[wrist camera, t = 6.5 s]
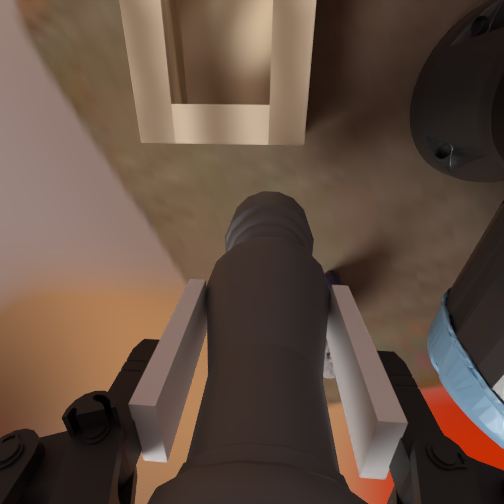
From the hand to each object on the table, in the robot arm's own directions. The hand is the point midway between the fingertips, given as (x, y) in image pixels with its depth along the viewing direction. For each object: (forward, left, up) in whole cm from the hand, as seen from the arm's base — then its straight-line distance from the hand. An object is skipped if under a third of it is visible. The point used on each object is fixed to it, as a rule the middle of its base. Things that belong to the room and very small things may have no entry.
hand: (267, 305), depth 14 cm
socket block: (+4, -13, -20) cm, 24 cm away
